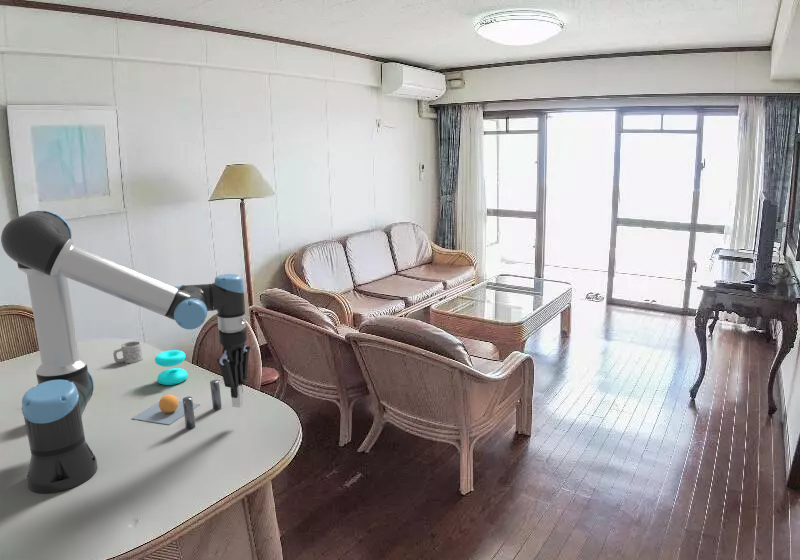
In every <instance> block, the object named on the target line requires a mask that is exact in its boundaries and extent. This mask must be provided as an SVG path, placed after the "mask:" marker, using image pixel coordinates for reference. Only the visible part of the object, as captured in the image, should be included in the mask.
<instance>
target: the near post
mask: <svg viewBox="0 0 800 560" xmlns="http://www.w3.org/2000/svg"><path fill="white" fill-rule="evenodd" d="M182 402H183V407H184V416H183V417H184V421H185V422H184V423H185V429H186V430H192V429H195V428H196V420H195V419H196V418H195V412H194V411H195V410H194V409H193V397H192V396H185V397H183V398H182Z"/></svg>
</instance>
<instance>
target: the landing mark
mask: <svg viewBox="0 0 800 560" xmlns="http://www.w3.org/2000/svg"><path fill="white" fill-rule="evenodd" d="M200 405H201V404H200V403H193V410H194V409H196V408H197V406H198V407H199V406H200ZM182 417H185V416H184V407H183V401H179V400H178V407H177V409H176V410H175V411H174V412H171V413H164V412H163V411H161V410H160V408H159V401H158V402H157V403H155V404H154V405H151V406H150V407H148V408H147V409H145V410H143V411H142V412H140V413H137V414H136V415H135V416H133V417H131V418H130V419H131V420H136V421H141V422H148V423H153V424H154V423H155V424H160V425H168V426H170V425H172V424H174V423H175V422H176V421H178V420H179V419H181V418H182Z"/></svg>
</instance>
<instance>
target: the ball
mask: <svg viewBox="0 0 800 560" xmlns="http://www.w3.org/2000/svg"><path fill="white" fill-rule="evenodd" d="M178 401H179V400H178V397H177V396H175V395H173V394H165V395H163V396H162V397H160V400H159V401H158V402H159V408H160V410H161V411H163V412H164V413H171V412H174V411H175V410H176V409H177V407H178Z"/></svg>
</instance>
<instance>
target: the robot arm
mask: <svg viewBox="0 0 800 560" xmlns="http://www.w3.org/2000/svg"><path fill="white" fill-rule="evenodd" d="M72 236H73V235H72V229H71V226H70V224H69V223H68V222H67V220H66V219H65V218H64V217H62V216H61V214H58V213H56V212H54V211H50V210H35V211H34V210H33V211H30V212H27V213H25V214H23V215H20V216H17V217H14V218H12V219H11V220H10V221H9V222H7V224H6V225H5V226H4V227H3V229H2V231H1V236H0V243H1V246H2V248H3V249H2V250H3V251H4V253H5V254H6V255H7V256H8V257H9V258H10V259H11V260H12V261H14V262H16V263H17V268H18V269H19V270H20V271H22V272H23V273H24V274H26V277H27V284H28V290H29V297H30V301H31V309H32V313H33V314H32V315H33V321H34V326H35V327H34V328H35V331H36V338H37V344H38V349H39V356H40V363H41V364H40V365H39V366H38V367H37V368H36V370H35V375H36V379H37V380H36V381H37V385H36V386H32V387H31V388H29V389H28V390H27V391H26V392H25V393H24V394H23V396H22V399H21V413H22V416H23V419H24V423H25V428H26V429H25V430H26V434H27V438H28V439H27V440H28V445H29V448H30V449H29V450H30V454H31V455H30V461H29V467H28V471H27V475H26V480H27V481H26V482H27V487H28V488H29V490H31V491H32V492H34V493H39V494H50V493H58V492H62V491H66V490H69V489H72V488H74V487H78V486H79V485H81V484H83V483H85V482H86V481H87V482H88V481H89V479H91V478H92V477H93V476H95V474H96V473H97V471H98V468H99V467H98V459H97V457H96V456H95V454H94V453H93V450H92V449H91V448H90V446H89V443H87V440H86V438H85V431H84V425H83V414H84V412H85V409H86V407H87V405H88V403H89V401H91V398H92V396H93V394H94V393H93V392H94V389H95V388H94V387H95V385H94V384H95V382H94V379H93V376H92V374H91V372H90V371H89V370H88V363H87V361H86V360H85V359H84V358H82V357H80V354H79V347H78V340H77V334H76V328H75V326H76V325H75V321H74V314H73V308H72V301H71V296H70V295H71V294H70V288H69V283H68V282H69V279H70V280H72V281H75V282H78V283H80V284H82V285H85V286H88V287H91V288H93V289H94V290H98V291H100V292H103V293H104V294H108V295H111V296H112V297H115V298H118V299H119V300H120V299H121V300H123V301H125V302H128V303H130V304H133V305H136V306H138V307H140V308H143V309H146V310H149V311H151V312H154V313H156V314H159V315H161V316H163V317H167V318H168V319H171V320H173V321H175V323H176V324H177V325H178V326H179V327H180V328H182V329H184V330H194V329H198V328H199V327H201V326H202V325H203V324H204V323H205V321H206V318H207V316H208V312H213V311H216V313H217V328H218V330H219V331H218V338H219V339H218V341H219V344H220V345H222V356H221V357H218V358H217V359H216V362H217V363H218V365H219V368H220V372H221V375H222V380H223V384H224V387H225V388H229V389H230V396H231V406H232V408H233V407H234V408H239V409H241V408H242V407H244V400H243V399H244V398H243V397H244V396H243V392H244V391H243V390H244V389H243V385H246V380H247V378H248V368H249V367H248V365H249V354H250V349H251V346H250V345H245V343H246V342H247V340H248V337H247V328H246V326H247V325H246V323H247V322H246V306H245V304H246V303H245V302H246V301H245V290H244V280H243V277H242V276H241V275H239V274H235V273H225V274H219V275H216V276H215V277H214V281H213V282H212V283H204V284H189V285H188V284H187V285H184V284H182V285H177V286H176V285H175V286H172V285H170V284H168V283H167V282H164V281H161V280H158V279H156V278H153V277H151V276H149V275H147V274H144V273H141V272H140V271H137V270H134V269H132V268H129V267H128V266H125V265H123V264H120V263H118V262H115V261H113V260H110V259H108V258H106V257H104V256H101V255H99V254H96V253H94V252H91V251H89V250H86V249H84V248H83V247H82V248H81V246H77V245H75V244H74V242H73V240H72Z"/></svg>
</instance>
